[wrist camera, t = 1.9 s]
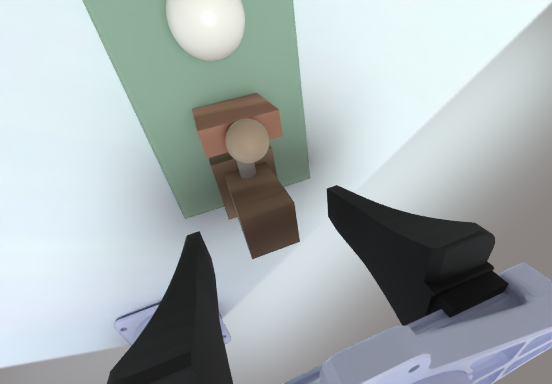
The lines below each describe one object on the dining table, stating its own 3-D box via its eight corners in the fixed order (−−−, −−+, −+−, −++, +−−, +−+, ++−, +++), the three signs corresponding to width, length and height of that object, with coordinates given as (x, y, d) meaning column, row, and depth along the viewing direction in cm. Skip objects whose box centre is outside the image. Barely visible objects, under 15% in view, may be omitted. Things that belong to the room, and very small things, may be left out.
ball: (243, 50, 15) (260, 55, 12) (181, 64, 14) (184, 73, 11) (227, -30, 13) (243, -46, 10) (154, -18, 12) (149, -32, 9)
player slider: (276, 193, 20) (310, 247, 15) (226, 210, 20) (245, 272, 15) (256, 87, 16) (295, 115, 11) (190, 104, 15) (199, 142, 10)
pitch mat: (307, 175, 21) (310, 178, 21) (184, 214, 20) (185, 218, 19) (266, -225, 10) (270, -236, 10) (-18, -220, 9) (-27, -232, 8)
